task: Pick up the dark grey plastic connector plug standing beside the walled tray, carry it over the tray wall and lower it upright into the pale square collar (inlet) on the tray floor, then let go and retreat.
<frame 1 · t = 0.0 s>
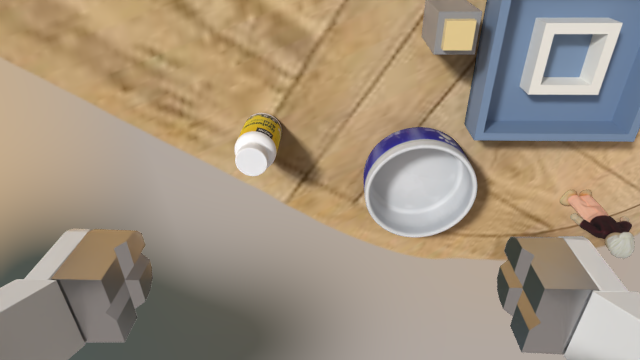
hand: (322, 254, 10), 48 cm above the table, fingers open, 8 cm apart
walled tray: (558, 51, 54), on the table
supplement bottle: (263, 128, 61), on the table
dog bowl: (414, 171, 64), on the table
grandmother figurine: (579, 196, 65), on the table
connector plug: (441, 17, 52), on the table
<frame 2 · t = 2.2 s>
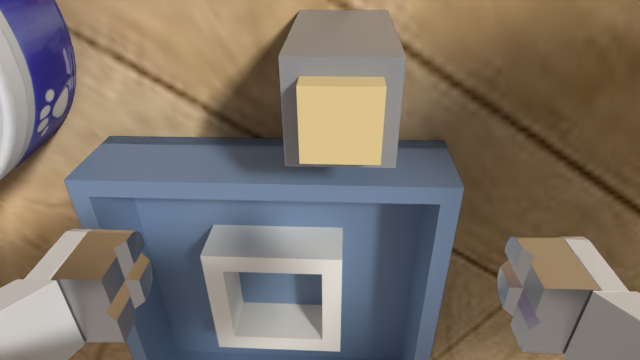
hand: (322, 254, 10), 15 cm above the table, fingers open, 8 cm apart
walled tray: (283, 263, 31), on the table
connector plug: (342, 54, 23), on the table
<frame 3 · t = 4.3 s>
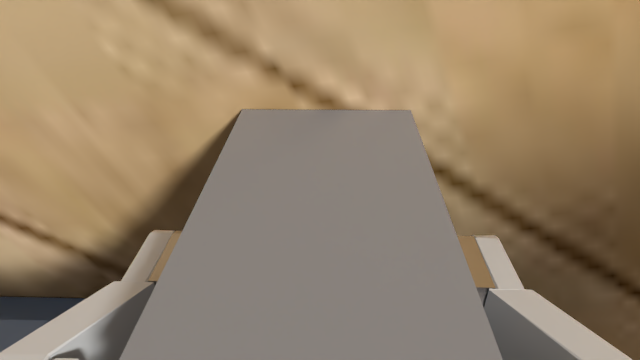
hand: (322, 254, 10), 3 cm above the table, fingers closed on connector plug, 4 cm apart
connector plug: (325, 181, 12), on the table, touching gripper
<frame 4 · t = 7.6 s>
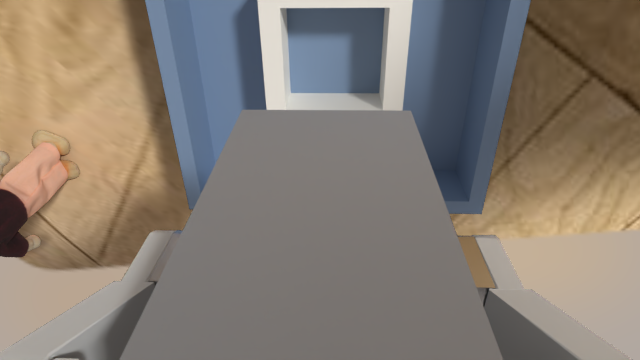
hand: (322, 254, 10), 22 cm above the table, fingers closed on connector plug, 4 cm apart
walled tray: (335, 44, 28), on the table
grandmother figurine: (60, 161, 35), on the table
connector plug: (326, 181, 12), point 18 cm above the table, touching gripper
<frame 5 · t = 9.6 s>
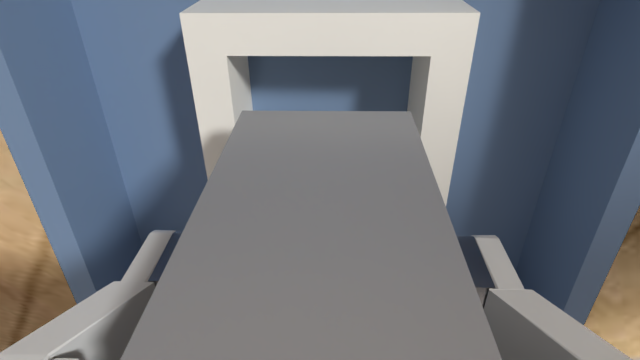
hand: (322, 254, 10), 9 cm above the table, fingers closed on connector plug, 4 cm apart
walled tray: (329, 102, 18), on the table
connector plug: (325, 182, 12), point 6 cm above the table, touching gripper
when the fingers open (6 cm above the table, at t = 11.2 s): connector plug drops 1 cm, resting on walled tray.
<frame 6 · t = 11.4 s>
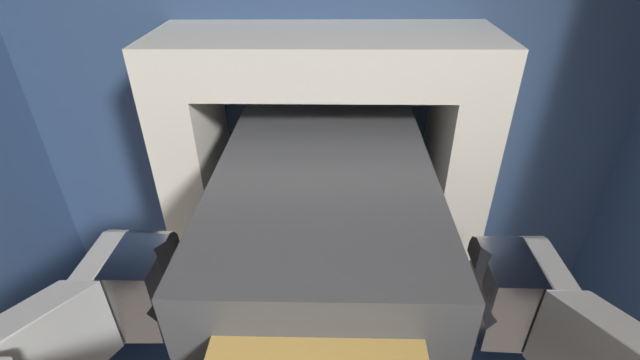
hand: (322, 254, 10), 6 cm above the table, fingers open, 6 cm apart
walled tray: (326, 143, 14), on the table
connector plug: (328, 157, 14), point 1 cm above the table, touching walled tray
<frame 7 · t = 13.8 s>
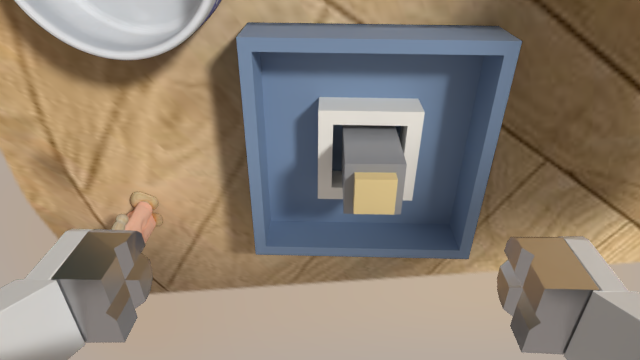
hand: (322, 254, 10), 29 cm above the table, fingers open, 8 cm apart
walled tray: (364, 137, 40), on the table
grandmother figurine: (148, 213, 45), on the table
connector plug: (366, 142, 39), point 1 cm above the table, touching walled tray
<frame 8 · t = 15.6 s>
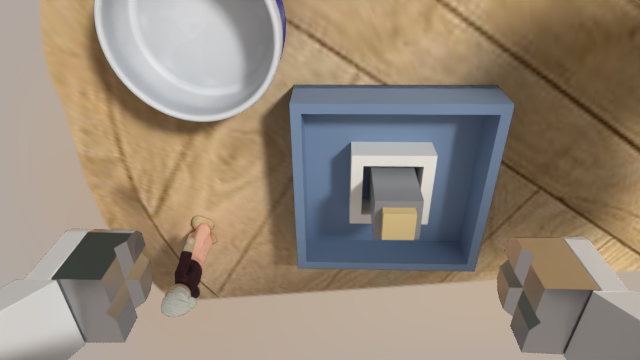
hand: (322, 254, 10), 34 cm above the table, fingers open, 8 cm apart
walled tray: (387, 171, 48), on the table
dog bowl: (207, 21, 41), on the table
grandmother figurine: (205, 232, 54), on the table
connector plug: (389, 176, 47), point 1 cm above the table, touching walled tray
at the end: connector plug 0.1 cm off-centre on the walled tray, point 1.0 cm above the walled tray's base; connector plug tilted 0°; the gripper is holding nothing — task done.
